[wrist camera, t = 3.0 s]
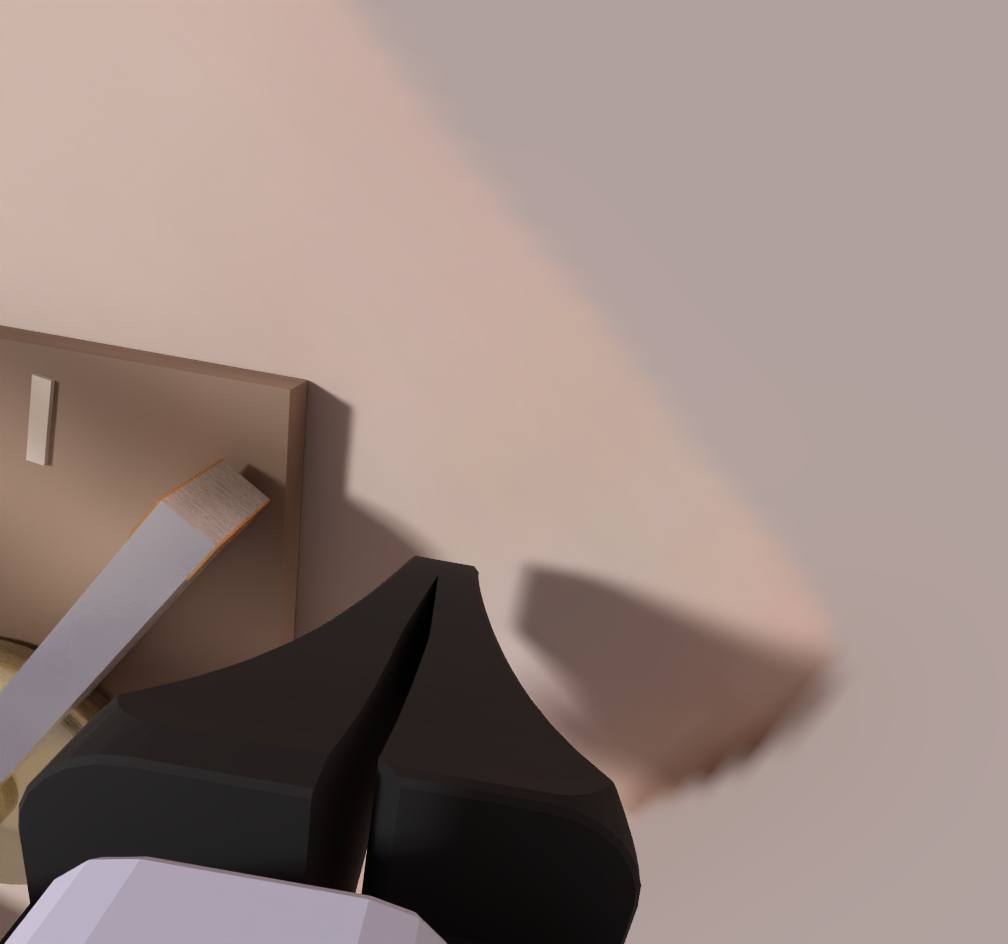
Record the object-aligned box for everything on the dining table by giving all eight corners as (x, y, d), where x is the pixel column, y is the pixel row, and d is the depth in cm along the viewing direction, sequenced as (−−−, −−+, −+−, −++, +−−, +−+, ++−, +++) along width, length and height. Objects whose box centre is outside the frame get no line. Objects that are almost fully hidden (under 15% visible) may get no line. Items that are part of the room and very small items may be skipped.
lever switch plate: (280, 878, 19) (266, 914, 18) (-97, 811, 19) (-134, 844, 18) (307, 379, 13) (288, 390, 12) (-227, 285, 13) (-292, 287, 12)
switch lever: (58, 879, 18) (-12, 970, 15) (-164, 739, 16) (-277, 817, 14) (373, 580, 14) (340, 645, 11) (112, 359, 12) (15, 384, 10)
